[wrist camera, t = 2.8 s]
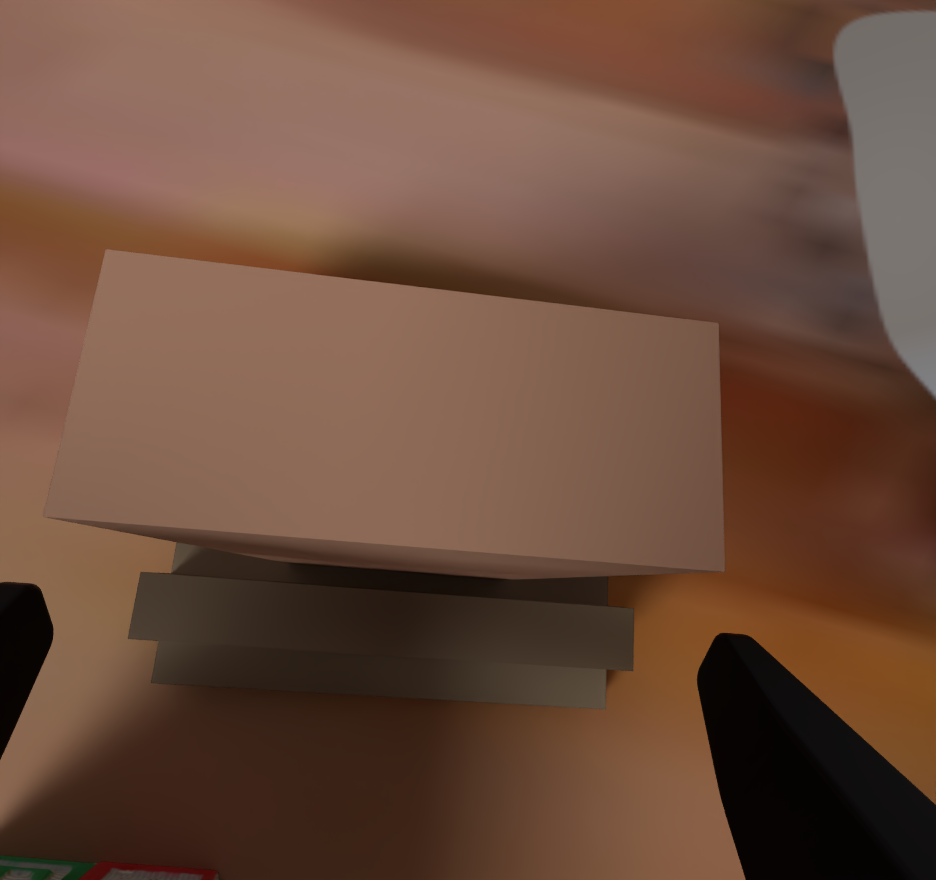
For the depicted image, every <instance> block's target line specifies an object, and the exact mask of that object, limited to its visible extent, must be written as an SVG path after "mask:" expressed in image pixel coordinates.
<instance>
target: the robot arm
mask: <svg viewBox="0 0 936 880" xmlns="http://www.w3.org/2000/svg"><path fill="white" fill-rule="evenodd" d="M52 640H53V624H52V621H51V618H50V615H49V612H48V609H47V606H46V603H45V600H44V597H43V594H42V591H41V589H40V588H39V587H38V586H37V585H35V584H31V583H17V582H2V583H0V759H1V757H2V755H3V753H4V751H5V748H6V746H7V744H8V742H9V740H10V737H11V735H12V733H13V731H14V728H15V726H16V724H17V722H18V719H19V717H20V715H21V713H22V710H23V708H24V706H25V703H26V701H27V699H28V697H29V694H30V692H31V690H32V688H33V685H34V683H35V681H36V679H37V676H38V674H39V672H40V669H41V667H42V665H43V663H44V660H45V658H46V656H47V654H48V651H49V649H50V647H51V644H52ZM697 685H698V691H699V696H700V701H701V706H702V711H703V716H704V721H705V725H706V730H707V735H708V740H709V745H710V750H711V755H712V760H713V765H714V769H715V774H716V779H717V783H718V788H719V792H720V796H721V800H722V803H723V807H724V810H725V814H726V817H727V821H728V824H729V827H730V830H731V834H732V837H733V840H734V843H735V846H736V850H737V853H738V856H739V859H740V863H741V866H742V869H743V872H744V876H745V879H746V880H936V805H935V804H934V803H933V802H932V801H931V800H930V799H929V798H928V797H927V796H925V795H924V794H923V793H922V792H921V791H920V790H919V789H918V788H917V787H916V786H914V785H913V784H912V783H911V782H910V781H909V780H908V779H907V778H906V777H905V776H904V775H902V774H901V773H900V772H899V771H898V770H897V769H896V768H895V767H894V766H893V765H891V764H890V763H889V762H888V761H887V760H886V759H885V758H884V757H883V756H882V755H880V754H879V753H878V752H877V751H876V750H875V749H874V748H873V747H872V746H871V745H869V744H868V743H867V742H866V741H865V740H864V739H863V738H862V737H861V736H860V735H858V734H857V733H856V732H855V731H854V730H853V729H852V728H851V727H850V726H849V725H847V724H846V723H845V722H844V721H843V720H842V719H841V718H840V717H839V716H838V715H837V714H835V713H834V712H833V711H832V710H831V709H830V708H829V707H828V706H827V705H826V704H824V703H823V702H822V701H821V700H820V699H819V698H818V697H817V696H816V695H815V694H813V693H812V692H811V691H810V690H809V689H808V688H807V687H806V686H805V685H804V684H802V683H801V682H800V681H799V680H798V679H797V678H796V677H795V676H794V675H793V674H791V673H790V672H789V671H788V670H787V669H786V668H785V667H784V666H783V665H782V664H780V663H779V662H778V661H777V660H776V659H775V658H774V657H773V656H772V655H771V654H770V653H768V652H767V651H766V650H765V649H764V648H763V647H762V646H761V645H760V644H759V643H757V642H756V641H755V640H754V639H753V638H751V637H750V636H747V635H744V634H732V633H720V634H719V635H717V636H716V637H715V638H714V640H713V642H712V644H711V646H710V648H709V650H708V652H707V654H706V656H705V658H704V660H703V662H702V664H701V666H700V668H699V671H698V675H697Z"/></svg>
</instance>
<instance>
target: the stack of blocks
mask: <svg viewBox="0 0 936 880" xmlns="http://www.w3.org/2000/svg"><path fill="white" fill-rule="evenodd" d="M0 880H219V877H218V872H217V871H215V870H204V869H192V868H180V867H167V866H155V865H139V864H126V863H113V862H100V863H84V862H72V861H60V860H49V859H37V858H25V857H13V856H0Z"/></svg>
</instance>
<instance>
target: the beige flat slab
mask: <svg viewBox="0 0 936 880" xmlns="http://www.w3.org/2000/svg"><path fill="white" fill-rule="evenodd" d="M43 517H46V518H52V519H57V520H62V521H68V522H73V523H78V524H83V525H89V526H94V527H99V528H105V529H110V530H115V531H120V532H126V533H131V534H136V535H142V536H147V537H152V538H157V539H163V540H168V541H173V542H179V543H184V544H189V545H194V546H200V547H205V548H210V549H216V550H221V551H226V552H231V553H237V554H242V555H247V556H253V557H258V558H263V559H268V560H274V561H279V562H284V563H291V564H304V565H317V566H330V567H343V568H356V569H369V570H383V571H396V572H409V573H422V574H435V575H448V576H461V577H474V578H487V579H500V580H515V579H543V578H571V577H598V576H626V575H653V574H681V573H708V572H725V553H724V514H723V475H722V436H721V397H720V358H719V323H715V322H707V321H699V320H690V319H682V318H674V317H665V316H657V315H649V314H640V313H632V312H624V311H615V310H607V309H599V308H590V307H582V306H574V305H565V304H557V303H549V302H540V301H532V300H524V299H515V298H507V297H499V296H490V295H482V294H474V293H465V292H457V291H449V290H440V289H432V288H424V287H415V286H407V285H399V284H390V283H382V282H374V281H365V280H357V279H349V278H340V277H332V276H324V275H315V274H307V273H299V272H290V271H282V270H274V269H265V268H257V267H249V266H240V265H232V264H224V263H215V262H207V261H199V260H190V259H182V258H174V257H165V256H157V255H149V254H140V253H132V252H124V251H115V250H107V249H106V251H105V255H104V260H103V264H102V268H101V272H100V276H99V281H98V285H97V289H96V293H95V298H94V302H93V306H92V310H91V315H90V319H89V323H88V327H87V331H86V336H85V340H84V344H83V348H82V353H81V357H80V361H79V365H78V370H77V374H76V378H75V382H74V386H73V391H72V395H71V399H70V403H69V408H68V412H67V416H66V420H65V424H64V429H63V433H62V437H61V441H60V446H59V450H58V454H57V458H56V463H55V467H54V471H53V475H52V479H51V484H50V488H49V492H48V496H47V501H46V505H45V509H44V513H43Z"/></svg>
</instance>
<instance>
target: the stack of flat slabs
mask: <svg viewBox="0 0 936 880" xmlns="http://www.w3.org/2000/svg"><path fill="white" fill-rule="evenodd" d="M128 639H138V640H153V641H159V642H158V647H157V653H156V658H155V663H154V669H153V674H152V680H151V683H158V684H175V685H192V686H209V687H227V688H244V689H261V690H278V691H296V692H313V693H330V694H348V695H365V696H382V697H399V698H417V699H434V700H451V701H468V702H486V703H503V704H520V705H537V706H555V707H572V708H589V709H606V670H621V671H633V646H634V609H633V608H624V607H614V606H608V576H598V577H571V578H543V579H515V580H500V579H487V578H474V577H461V576H448V575H435V574H422V573H409V572H396V571H383V570H369V569H356V568H343V567H330V566H317V565H304V564H291V563H284V562H279V561H274V560H268V559H263V558H258V557H253V556H247V555H242V554H237V553H231V552H226V551H221V550H216V549H210V548H205V547H200V546H194V545H189V544H184V543H179V542H177V543H176V549H175V554H174V560H173V565H172V571H171V573H149V572H141V573H140V578H139V583H138V588H137V593H136V599H135V604H134V609H133V614H132V619H131V624H130V629H129V635H128Z"/></svg>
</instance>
